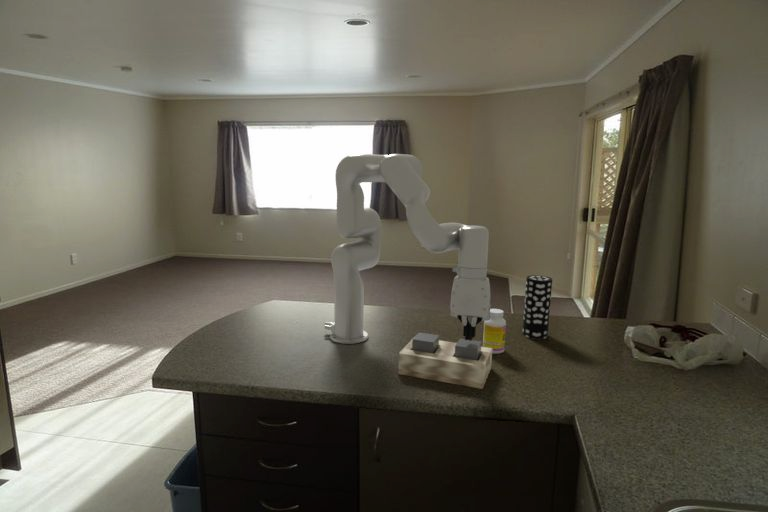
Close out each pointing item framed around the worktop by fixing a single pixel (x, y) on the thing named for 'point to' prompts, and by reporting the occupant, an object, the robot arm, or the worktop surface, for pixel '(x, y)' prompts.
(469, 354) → the cap
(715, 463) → the worktop surface
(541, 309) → the white-spotted black cylinder
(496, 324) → the supplement bottle
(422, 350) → the cap
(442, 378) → the switch box
